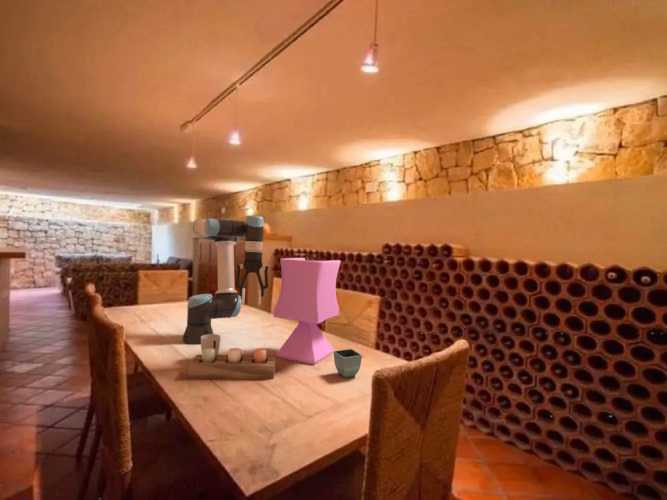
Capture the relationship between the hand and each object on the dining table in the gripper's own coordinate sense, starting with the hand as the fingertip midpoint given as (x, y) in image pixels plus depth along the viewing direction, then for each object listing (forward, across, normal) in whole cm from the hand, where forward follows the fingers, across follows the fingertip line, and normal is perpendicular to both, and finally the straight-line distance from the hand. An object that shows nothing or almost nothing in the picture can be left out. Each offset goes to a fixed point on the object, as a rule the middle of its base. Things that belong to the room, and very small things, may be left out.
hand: (251, 303), depth 148 cm
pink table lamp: (+25, +25, +8) cm, 36 cm away
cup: (+25, -17, +1) cm, 30 cm away
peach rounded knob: (+21, -4, -14) cm, 26 cm away
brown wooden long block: (+25, -4, -14) cm, 29 cm away
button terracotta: (+20, +6, -14) cm, 25 cm away
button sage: (+20, -14, -14) cm, 28 cm away
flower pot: (+25, +41, -16) cm, 51 cm away
